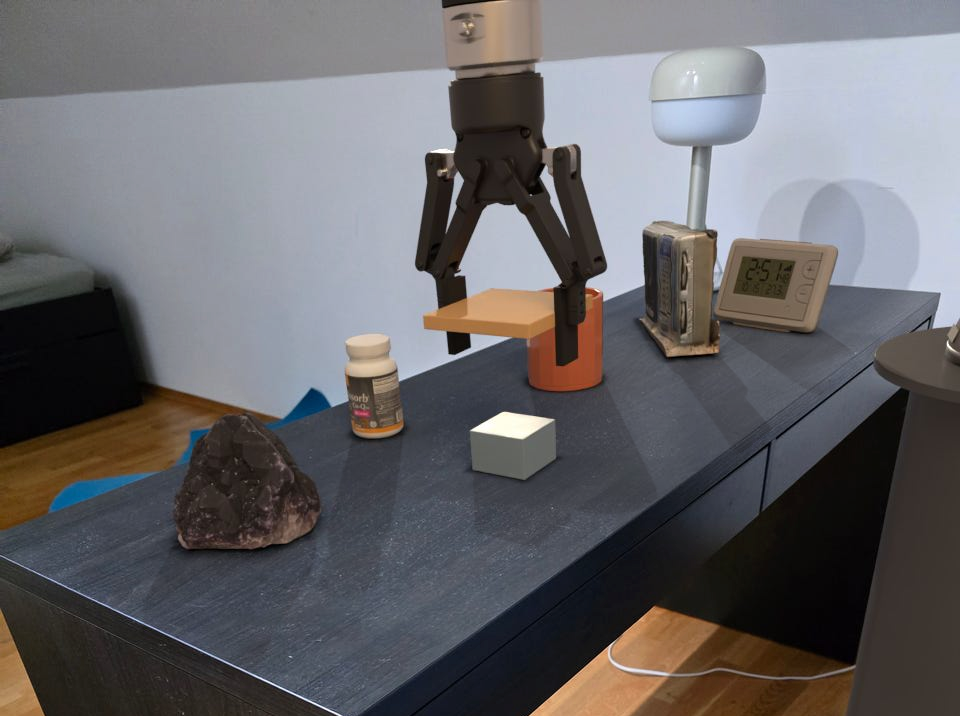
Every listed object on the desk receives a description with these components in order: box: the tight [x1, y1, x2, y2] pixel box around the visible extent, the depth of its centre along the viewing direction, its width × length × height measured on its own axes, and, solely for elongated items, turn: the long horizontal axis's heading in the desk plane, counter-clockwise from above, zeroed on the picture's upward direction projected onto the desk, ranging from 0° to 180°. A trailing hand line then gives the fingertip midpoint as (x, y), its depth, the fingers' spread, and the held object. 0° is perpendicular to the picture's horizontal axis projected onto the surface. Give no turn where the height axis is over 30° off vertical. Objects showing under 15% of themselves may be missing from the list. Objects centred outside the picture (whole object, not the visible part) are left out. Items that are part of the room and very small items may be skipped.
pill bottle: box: [344, 333, 404, 440], centre depth 94 cm, size 6×6×10 cm
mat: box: [422, 287, 593, 340], centre depth 78 cm, size 11×11×1 cm
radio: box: [638, 220, 721, 358], centre depth 117 cm, size 23×9×15 cm, turn 175°
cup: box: [526, 286, 604, 392], centre depth 106 cm, size 9×9×10 cm
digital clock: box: [713, 237, 839, 333], centre depth 121 cm, size 16×9×11 cm, turn 31°
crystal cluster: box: [172, 412, 322, 550], centre depth 76 cm, size 13×14×10 cm
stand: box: [469, 411, 557, 481], centre depth 85 cm, size 6×6×4 cm
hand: (511, 356), depth 81 cm, fingers closed on mat, 11 cm apart
